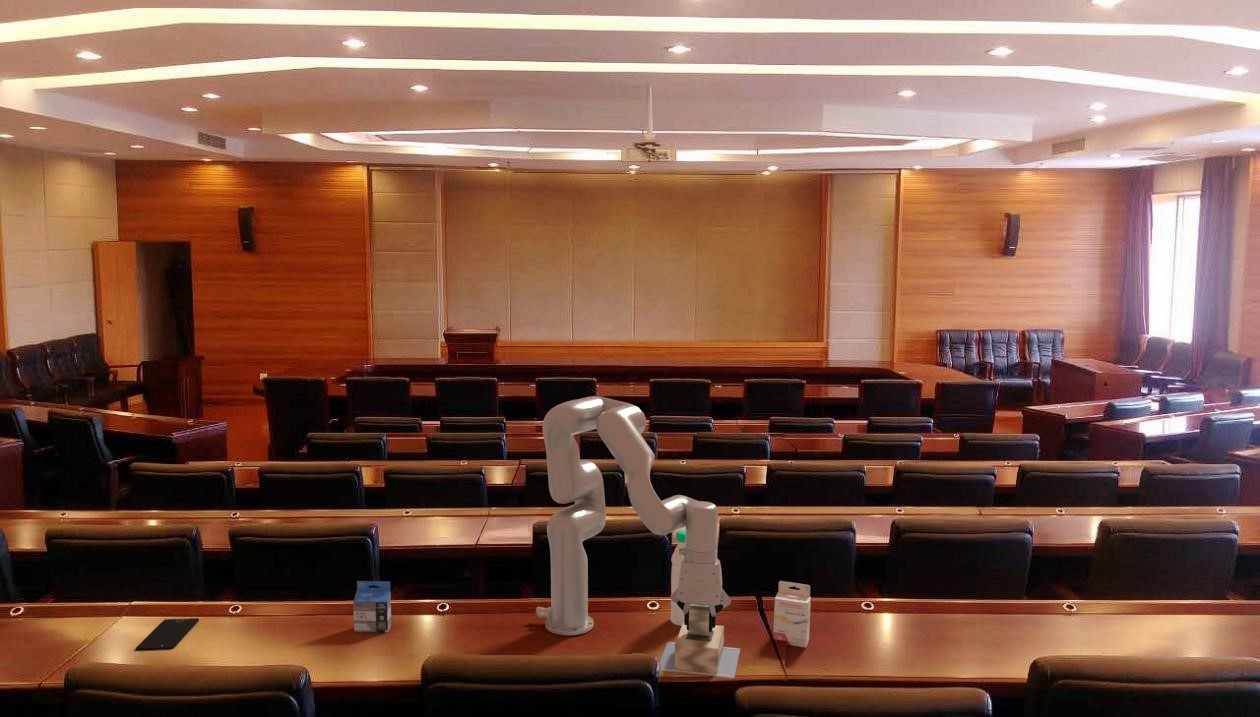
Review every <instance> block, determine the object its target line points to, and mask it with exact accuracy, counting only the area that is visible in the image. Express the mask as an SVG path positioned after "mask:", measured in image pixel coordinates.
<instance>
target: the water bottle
mask: <svg viewBox="0 0 1260 717" xmlns="http://www.w3.org/2000/svg"><path fill="white" fill-rule="evenodd" d="M685 534H686V529H681V530H678V531H677V532H676V534H675V539H676V543H677V546H676V547H675V548H674V551H673V553H672V555H671V559H670V560H671V563H672V564H671V573H670V574H671V575H670V576H671V577H670V587H671V590H670V591H671V594H672V593H673V592H674V591H675V590H676V588H677V587H678V586H679V573H680V566H681V562H682V559H683V558H685V556H684V555H682V554H679V549H680V548H681V549H683V548H684V547H685ZM690 606H691V604H690ZM670 608H671V609H670V610H671V612H670V622H671V623H672V624H674V625H675V626H676V625H677V626H681V627H682V624H683V622H684V613H683V611H682V610H681V608H680V607H679V606H678V605H677V604H676V603H675V602H673V601H672V600H671V599H670Z"/></svg>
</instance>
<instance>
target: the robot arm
mask: <svg viewBox="0 0 1260 717" xmlns="http://www.w3.org/2000/svg"><path fill="white" fill-rule="evenodd" d="M646 427H647V419H646V415H645V413H644V412H643V411H642V410H641V409H640V407H638V406H636V405H634V404H631V403H629V402H625V401H620V400H616V399H612V398H608V397H604V396H598V395H597V396H596V395H592V396H587V397H581V398H579V399H572V400H569V401H565V402H562V403H560V404H556V406H554V407H552V408H551V409H550V410H549V411H548V412H547V413H546V415H545V416H544V419H543V422H542V437H543V441H544V444H545V446H544V447H545V453H546V466H547V477H548V490H549V493H550V494H549V495H550V496H551V498H552V500H553V501H554V502H555V503H557V504H562V505H563V504H569V503H570V504H571V503H573V502H574V504H572V505H569V506H566V507H564V508H561V509H559V510H557V511H555V512H554V513H553V514H551V516H550V518H549V519H548V521H547V525H546V533H547V540H548V544H549V551H550V581H551V582H550V595H551V596H550V597H551V598H550V599H551V600H550V602H551V603H550V604H551V605H550V606H548V607H542V606H537V607H536V609H535V615H537V618H539V619H546V620H545V622H544V624H545V629H546V630H547V632H549V633H552V634H554V635H557V636H558V635H560V636H577V635H582V634H585V633H588V632H589V631H591V630H592V629H593V628H594V618H592V617H591V616H589V612H588V611H589V600H588V599H589V596H588V595H589V593H588V592H589V584H588V583H589V581H588V580H589V576H588V573H589V572H588V570H589V569H588V567H589V565H588V555H587V553H586V550H585V548H584V545H583V542H584V541H586V540H588V539H590V538H592V537H594V536H596V535H598V534H599V533H601V532H602V531H603V529H604V528H605V525H606V520H607V511H606V499H605V488H604V486H605V485H604V478H603V475H602V472H601V470H600V469H599V467H598V466H597V465H596V464H595V463H594V462H593V461H590V460H587V459H583V460H582V459H581V456H580V447H579V444H578V442H577V440H576V439H575V437H574V436H575V435H577V434H582V433H586V432H589V431H593V430H596V431H597V434H598V435H599V437H600V439H601V440H602V441H603V443H604V445H605V446H606V447H607V448H608V450H609V451H610V453H611V455H612V456H613V457H614V459H615V460H616V462H617V463H618V465H619V466H620V467H621V469H622V470H623V472H624V474H625V477H626V488H627V494H628V498H629V502H630V504H631V506H632V508H633V509H634V511H635V513H636V514H637V516H638V517H639V518H640V520H641V522H642V523H643V525H645V527H646V528H647V529H648V530H649V531H650V532H651V533H653V534H655V535H658V536H666V535H668V534H670V533H672V532H674V531H676V530H678V529H682V528H685V530H686V534H685V547H684V548H683V549H681V548H680V549H679V554H682V555H684V556H685V558H683V559H682V562H681V566H680V573H679V586H678V587H677V588H676V590H675V591H674V592H673V593H672V592H671V595H670V597H669V599H670V601H671V600H672V601H673V602H675V603H676V604H677V605H678V606H679V607H680V608H681V610H682V611H683V613H684V625H687V630H689V609H690V604H699V605H709V607H710V615H709V632H712V629H713V628H715V626H716V625H717V614H718V613H720V612H721V611H722V610H723V609H724V608H726V607H727V606H730V604H731V603H732V600H731V598H730V597H729V595H728V594H727V593H726V592H725V589H723V575H722V565H721V560H720V559H719V558H718V538H719V537H718V536H719V535H718V532H719V531H718V530H719V529H718V528H719V527H718V526H719V525H718V524H719V509H718V506H717V505H716V504H715V503H712V502H710V501H703V500H702V501H701V500H696V499H693V498H691V497H688V496H686V495H681V494H677V495H672V496H671V497H667V498H665V499H663V500H661V499H660V497H659V496H658V495H657V493H656V491H655V490H654V488H653V487H654V486H653V485H652V483H651V478H650V477H651V469H652V466H653V464H654V463H655V458H656V456H655V453H654V452H653V450H652V449H651V447H650V445H649V444H648V443H647V442H646V440H645V438H644V437H643V436H642V434H643V433H644V431H645V430H646Z"/></svg>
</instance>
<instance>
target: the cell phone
mask: <svg viewBox="0 0 1260 717" xmlns="http://www.w3.org/2000/svg"><path fill="white" fill-rule="evenodd" d="M199 620H200V618H197V617H196V618H193V617H192V618H167V619H163V620H162V621H161V623H159V624H158V625H157V626H156V627H155V628H154V629H153V630H152V631H151V632H150V633H149V634H148V635H147V636H146V637H145V638H144V639H143V640H142V641H141V642H140V643H139V644H138V645H137V646H136V647H135V650H136V651H140V652H141V651H163V650H166V651H169V650H174V649H175V648H176V647H177V645H179V644H180V642H181V641H182V640H184V638H185V637H186V636H187V635H188V634H189V632H190V631H191V630H192V629H193V628H194V627H195V626H196V625H197V624H198V622H199Z"/></svg>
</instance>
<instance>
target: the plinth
mask: <svg viewBox="0 0 1260 717" xmlns="http://www.w3.org/2000/svg"><path fill="white" fill-rule="evenodd" d="M724 634H725V625H717V624H716V626H715V628H713V629H712V632H709V635H708V636H707V635H696V634H689V630H687V625H684V622H683V624H682V626H681V627H680V630H679V633H678V634H677V638H676V641H675V642H676V643H675V669H677V670H687V671H697V672H708V673H718V670H719V666H720V661H721V657H722V653H723V647H725V646H724V643H725V642H724V640H725V635H724Z"/></svg>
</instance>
